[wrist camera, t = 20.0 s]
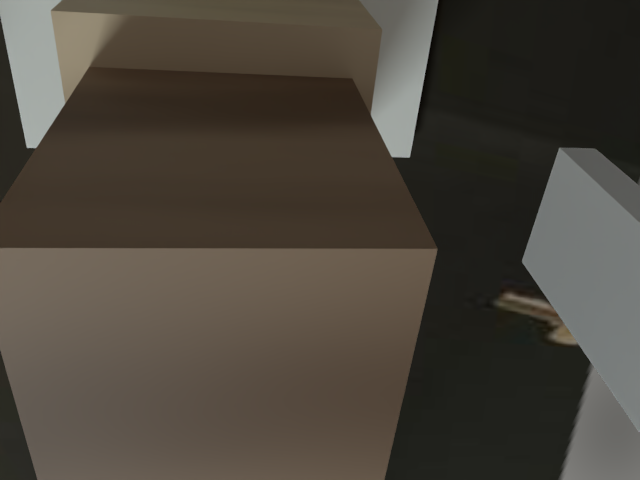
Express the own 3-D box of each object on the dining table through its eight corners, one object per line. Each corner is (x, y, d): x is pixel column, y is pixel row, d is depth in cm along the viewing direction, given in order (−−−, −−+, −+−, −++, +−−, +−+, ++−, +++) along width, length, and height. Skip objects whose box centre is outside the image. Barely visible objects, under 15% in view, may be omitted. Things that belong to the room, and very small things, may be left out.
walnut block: (89, 67, 11) (-29, 247, 6) (352, 78, 12) (437, 249, 7) (116, 280, 14) (50, 525, 9) (329, 279, 15) (378, 505, 10)
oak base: (109, -44, 15) (51, 10, 10) (337, -28, 16) (382, 29, 11) (130, 165, 19) (93, 281, 14) (319, 169, 20) (348, 280, 15)
